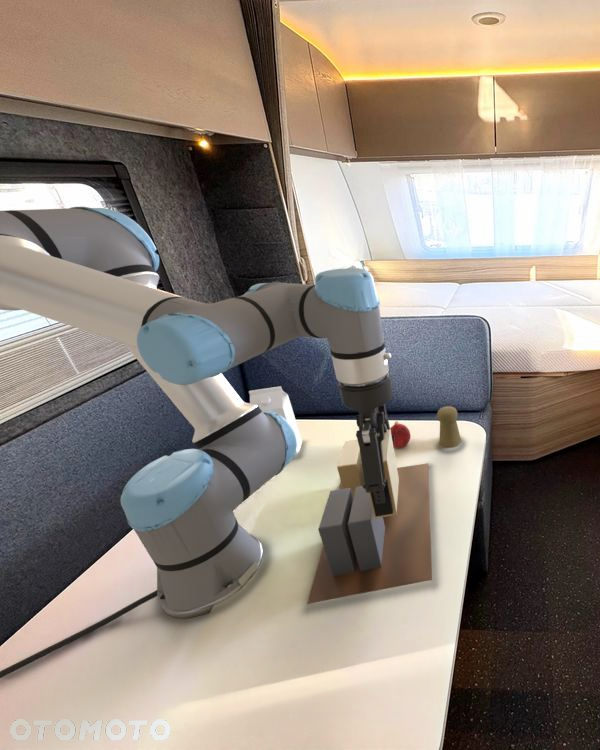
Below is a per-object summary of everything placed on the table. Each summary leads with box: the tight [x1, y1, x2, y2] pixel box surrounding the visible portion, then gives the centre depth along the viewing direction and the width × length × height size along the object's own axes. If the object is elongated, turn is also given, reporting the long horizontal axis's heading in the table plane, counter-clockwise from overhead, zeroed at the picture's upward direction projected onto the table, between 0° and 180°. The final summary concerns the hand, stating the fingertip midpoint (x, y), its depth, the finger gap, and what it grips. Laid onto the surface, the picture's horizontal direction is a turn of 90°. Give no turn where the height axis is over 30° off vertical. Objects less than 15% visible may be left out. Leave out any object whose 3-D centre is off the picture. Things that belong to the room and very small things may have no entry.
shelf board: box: [307, 463, 433, 605], centre depth 78 cm, size 20×32×1 cm, turn 11°
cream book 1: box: [336, 439, 365, 499], centre depth 83 cm, size 4×9×11 cm, turn 11°
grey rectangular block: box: [348, 486, 385, 571], centre depth 69 cm, size 4×9×11 cm, turn 11°
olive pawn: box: [436, 405, 462, 449], centre depth 100 cm, size 6×6×11 cm
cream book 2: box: [369, 429, 399, 518], centre depth 65 cm, size 4×9×11 cm, turn 11°
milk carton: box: [248, 385, 303, 455], centre depth 98 cm, size 7×7×19 cm
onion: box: [390, 420, 412, 449], centre depth 100 cm, size 6×6×8 cm
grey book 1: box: [317, 488, 357, 576], centre depth 68 cm, size 4×9×11 cm, turn 11°
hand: (386, 492), depth 67 cm, fingers closed on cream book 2, 9 cm apart
